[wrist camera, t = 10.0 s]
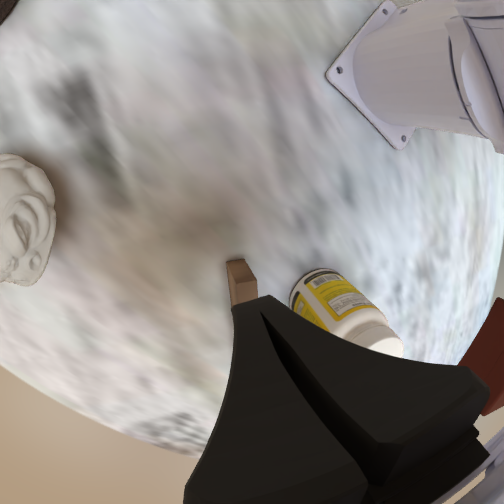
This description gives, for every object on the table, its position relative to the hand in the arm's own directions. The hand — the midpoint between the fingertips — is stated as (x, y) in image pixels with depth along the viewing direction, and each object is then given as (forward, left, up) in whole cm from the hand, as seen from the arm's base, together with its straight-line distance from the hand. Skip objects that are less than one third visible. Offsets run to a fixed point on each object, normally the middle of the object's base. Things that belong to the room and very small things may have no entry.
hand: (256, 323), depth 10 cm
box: (-7, +52, -10) cm, 53 cm away
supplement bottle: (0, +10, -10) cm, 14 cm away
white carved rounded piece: (+4, -11, -10) cm, 15 cm away
